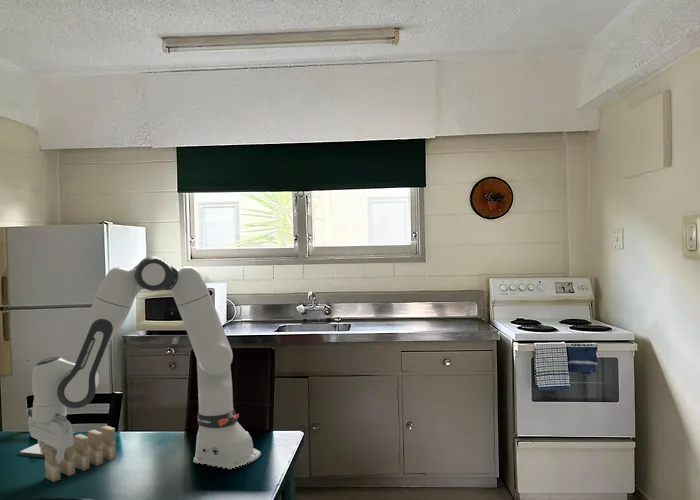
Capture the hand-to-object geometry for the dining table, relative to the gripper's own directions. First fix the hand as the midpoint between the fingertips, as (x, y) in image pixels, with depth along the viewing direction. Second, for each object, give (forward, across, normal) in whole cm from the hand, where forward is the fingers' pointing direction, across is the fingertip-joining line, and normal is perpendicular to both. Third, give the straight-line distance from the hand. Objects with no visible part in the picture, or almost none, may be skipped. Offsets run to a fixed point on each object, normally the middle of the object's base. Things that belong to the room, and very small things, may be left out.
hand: (52, 456), depth 163 cm
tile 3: (+7, 0, -9) cm, 11 cm away
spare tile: (+7, 0, 0) cm, 7 cm away
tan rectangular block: (+7, 0, -18) cm, 19 cm away
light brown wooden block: (+7, 0, -14) cm, 15 cm away
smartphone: (+7, +23, -9) cm, 26 cm away
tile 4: (+7, 0, -4) cm, 8 cm away
